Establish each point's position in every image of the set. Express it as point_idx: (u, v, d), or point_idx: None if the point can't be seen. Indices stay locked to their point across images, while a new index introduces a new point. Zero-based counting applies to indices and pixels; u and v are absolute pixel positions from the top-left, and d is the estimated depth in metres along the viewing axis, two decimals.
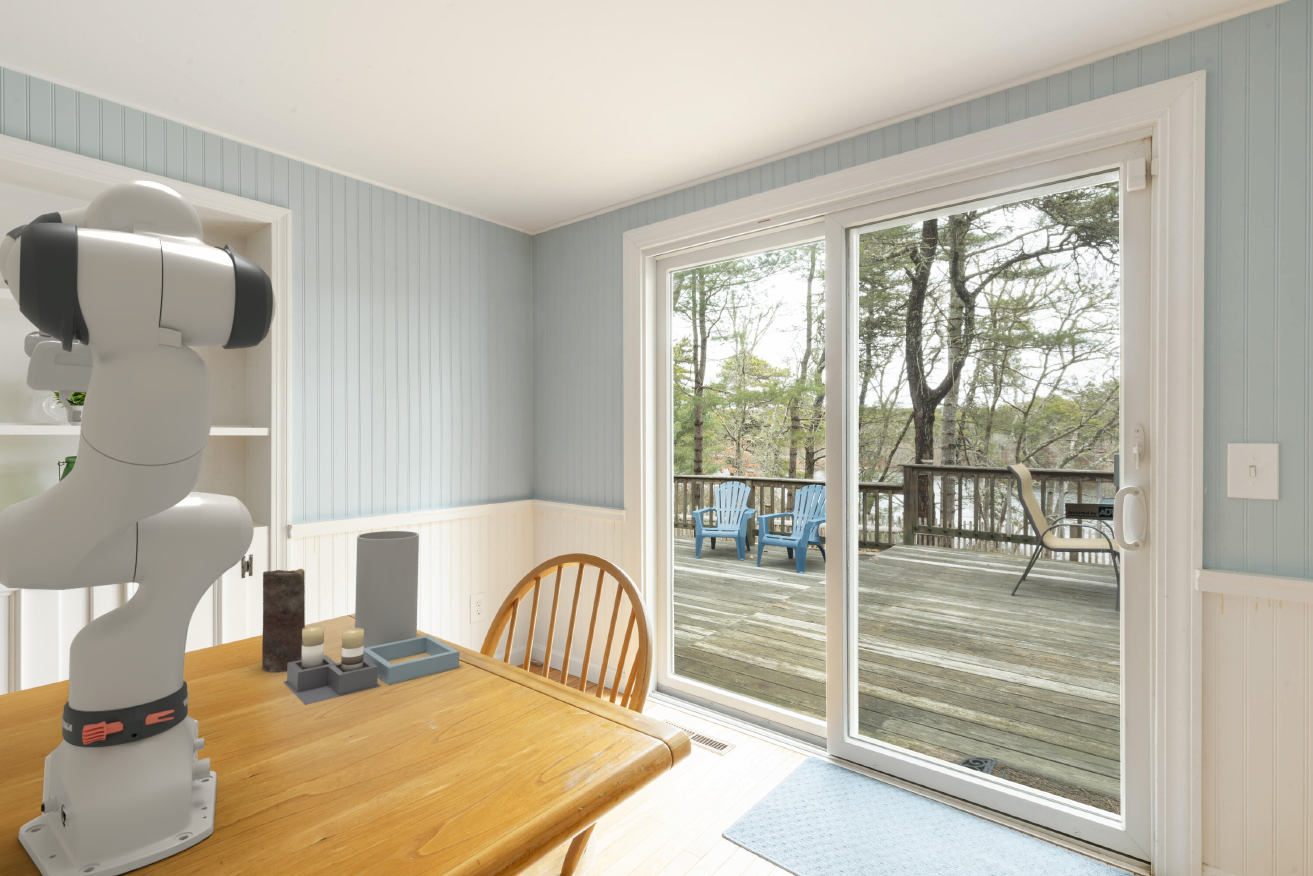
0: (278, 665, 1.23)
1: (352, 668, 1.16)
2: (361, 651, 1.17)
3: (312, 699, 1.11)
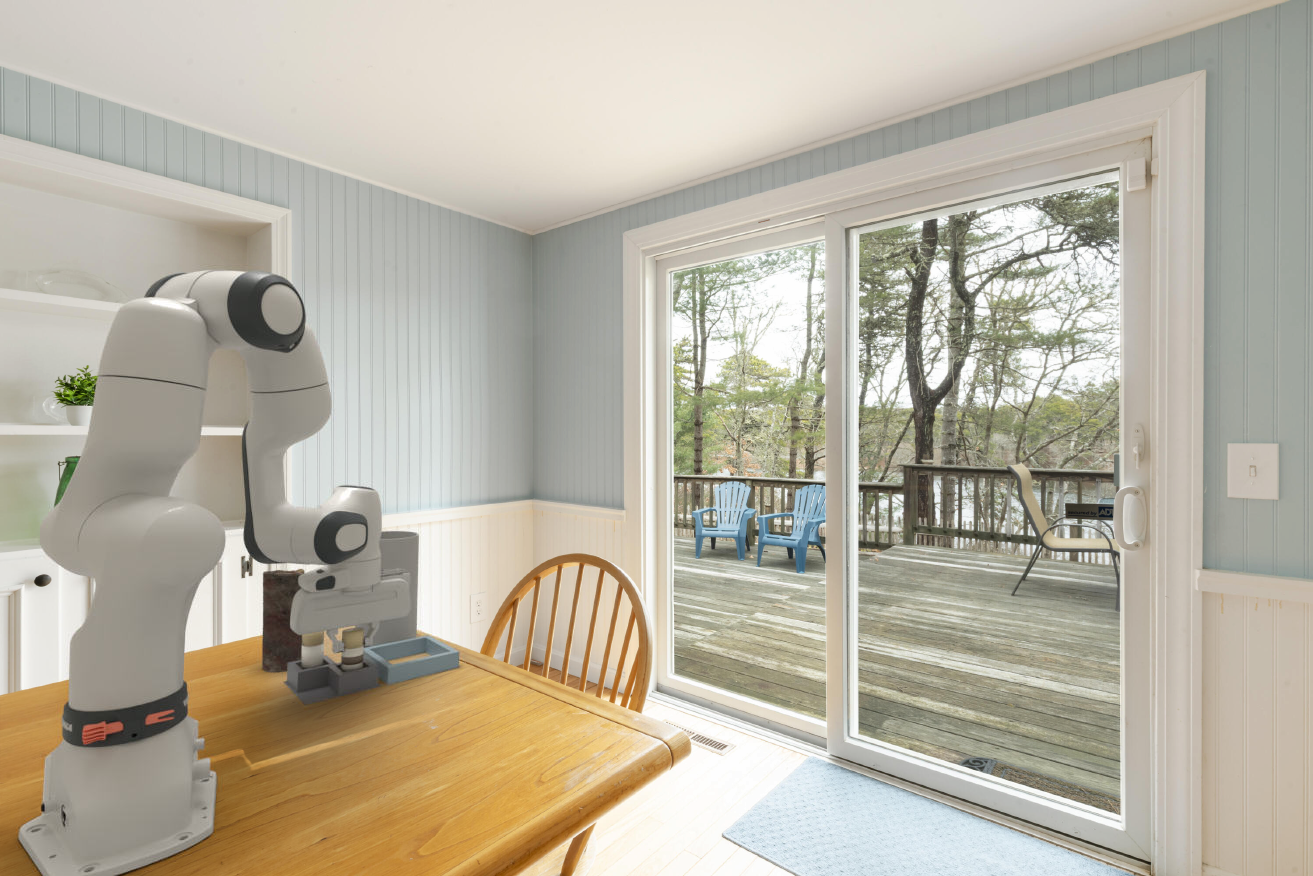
0: (278, 665, 1.23)
1: (352, 668, 1.16)
2: (361, 651, 1.17)
3: (312, 699, 1.11)
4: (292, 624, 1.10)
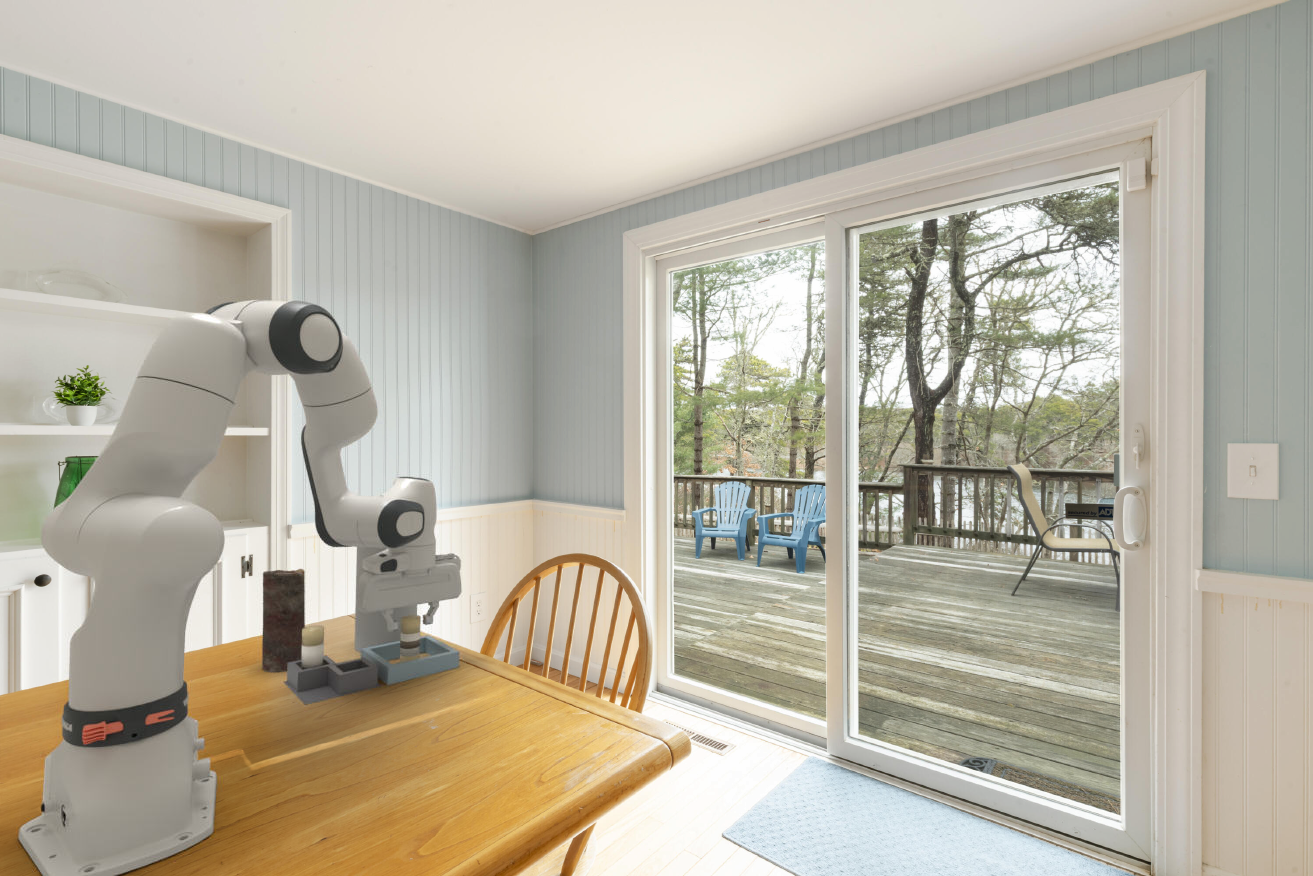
0: (278, 665, 1.23)
1: (410, 652, 1.26)
2: (418, 636, 1.27)
3: (312, 699, 1.11)
4: (358, 603, 1.21)
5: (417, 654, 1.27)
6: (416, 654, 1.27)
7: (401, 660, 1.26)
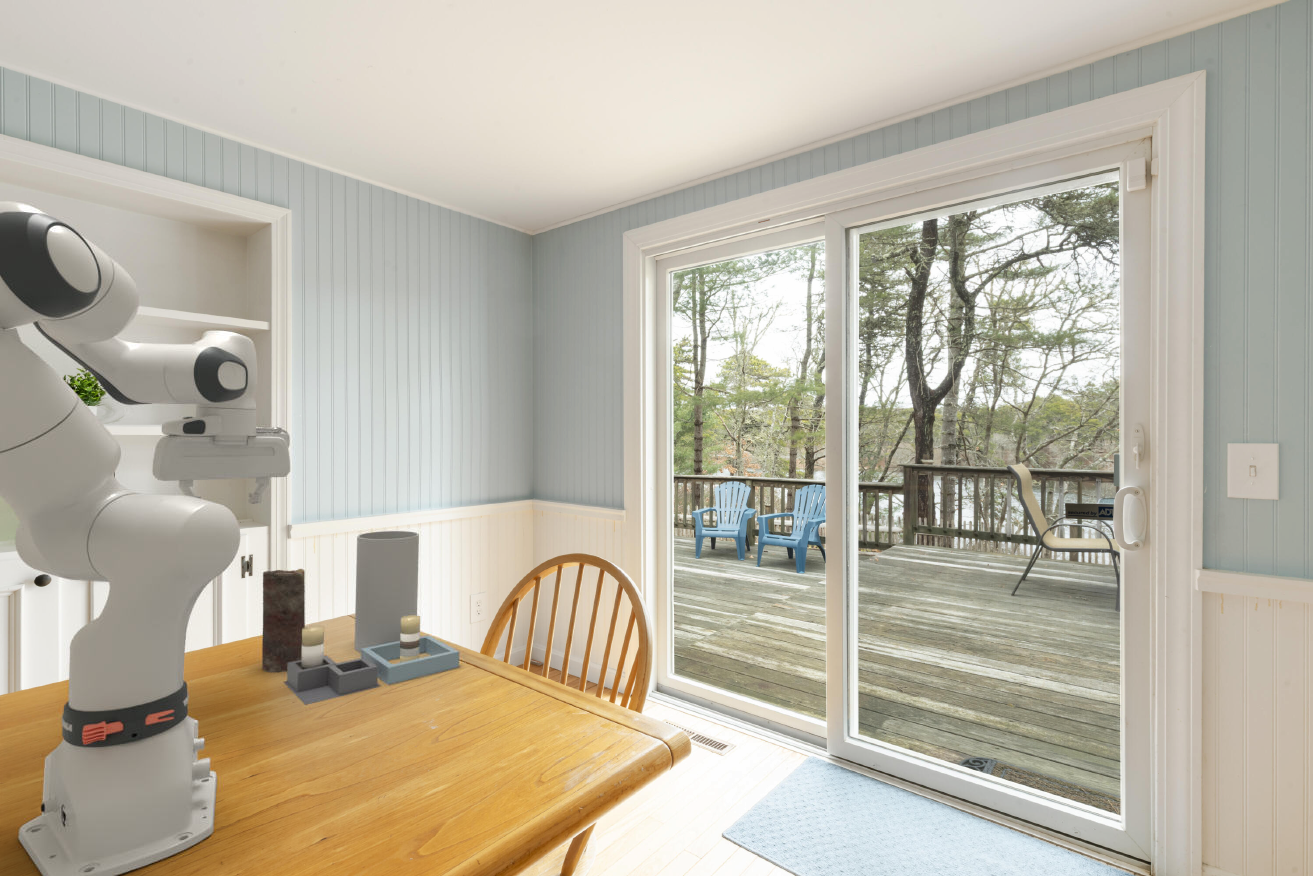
0: (278, 665, 1.23)
1: (410, 652, 1.26)
2: (418, 636, 1.27)
3: (312, 699, 1.11)
4: (155, 470, 1.04)
5: (417, 654, 1.27)
6: (416, 654, 1.27)
7: (401, 660, 1.26)
